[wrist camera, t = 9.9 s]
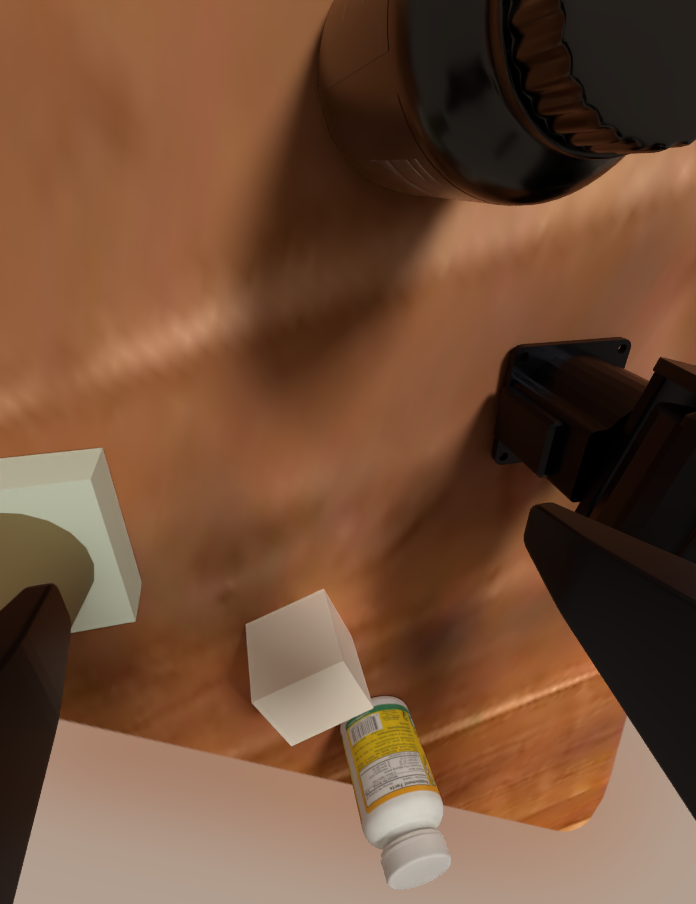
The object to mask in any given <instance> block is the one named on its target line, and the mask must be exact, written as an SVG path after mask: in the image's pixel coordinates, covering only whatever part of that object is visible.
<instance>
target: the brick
mask: <svg viewBox="0 0 696 904" xmlns="http://www.w3.org/2000/svg"><path fill="white" fill-rule="evenodd" d="M245 626H246V639H247V652H248V664H249V677H250V690H251V703H252V704H253V705H254V706H255V707H256V708H257V709H258V710H259V712H260V713H261V714H262V715H263V716H264V717H265V718H266V719H267V720H268V721H269V722H270V723H271V725H272V726H273V727H274V728H275V729H276V730H277V731H278V732H279V733H280V734H281V735H282V737H283V738H284V739H285V740H286V741H287V742H288V743H289V744H290V745H291V746H293V745H295V744H297V743H300V742H302V741H304V740H306V739H308V738H310V737H312V736H315V735H317V734H319V733H321V732H323V731H325V730H328V729H330V728H332V727H334V726H336V725H338V724H341V723H343V722H345V721H347V720H349V719H351V718H353V717H356V716H358V715H360V714H362V713H364V712H366V711H369V710H371V709H373V705H372V701H371V698H370V695H369V691H368V688H367V685H366V682H365V678H364V675H363V672H362V668H361V665H360V662H359V659H358V655H357V652H356V649H355V645H354V642H353V639H352V636H351V634H350V632H349V631H348V629H347V627H346V626H345V624H344V622H343V621H342V619H341V617H340V615H339V614H338V612H337V610H336V609H335V607H334V605H333V604H332V602H331V600H330V598H329V597H328V595H327V593H326V592H325V590H324V589H322V590H320V591H317V592H315V593H313V594H311V595H309V596H306V597H304V598H302V599H300V600H298V601H295V602H293V603H291V604H289V605H287V606H284V607H282V608H280V609H278V610H276V611H274V612H271V613H269V614H267V615H265V616H263V617H260V618H258V619H256V620H254V621H252V622H249V623H247V624H245Z"/></svg>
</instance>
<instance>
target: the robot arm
mask: <svg viewBox="0 0 696 904" xmlns="http://www.w3.org/2000/svg"><path fill="white" fill-rule="evenodd" d="M620 346H621V347H620ZM619 347H620V349H619V350H618V348H619ZM630 349H631V343H630V341H629V340H627V339H625V338H622V337H613V338H599V339H586V340H573V341H560V342H547V343H534V344H521V345H517V346H516V347H515V348H514V349H513V350H512V351H511V354H510V357H509V363H508V368H507V374H506V379H505V384H504V389H503V391H502V393H501V398H500V404H499V409H498V415H497V420H496V426H495V431H494V435H495V438H494V443H493V449H492V459H493V460H494V461H495V462H496V463H497V464H499V465H504V464H511V463H518V462H523V463H524V464H525V465H526V466H527V467H529V468H530V469H531V470H532V471H533V472H534V473H535V474H536V475H537V476H538V477H540V478H543V477H545V478H546V479H547V480H549V481H550V482H551V483H552V484H553V485H554V486H555V487H556V488H557V489H558V490H559V491H561V492H562V493H563V494H564V495H565V496H566V497H567V498H568V499H569V500H570V501H572V502H580V503H579V505H578V507H577V508H576V510H575V512H573V511H571V510H569V509H566V508H564V507H562V506H560V505H557V504H555V503H543V504H536V505H534V506H533V507H532V508H531V509H530V512H529V516H528V520H527V524H526V528H525V532H524V543H525V546H526V549H527V551H528V553H529V554H530V556H531V558H532V560H533V562H534V564H535V566H536V568H537V570H538V572H539V574H540V576H541V578H542V580H543V581H544V583H545V585H546V587H547V589H548V591H549V593H550V595H551V597H552V599H553V601H554V602H555V604H556V606H557V608H558V610H559V611H560V613H561V615H562V616H563V618H564V619H565V621H566V622H567V624H568V626H569V627H570V629H571V630H572V632H573V633H574V635H575V636H576V638H577V639H578V641H579V642H580V644H581V645H582V647H583V649H584V650H585V652H586V653H587V655H588V656H589V658H590V659H591V661H592V662H593V664H594V665H595V667H596V668H597V670H598V672H599V673H600V675H601V676H602V678H603V679H604V681H605V682H606V684H607V685H608V687H609V688H610V690H611V691H612V693H613V695H614V696H615V698H616V699H617V701H618V702H619V704H620V705H621V707H622V708H623V710H624V711H625V713H626V714H627V716H628V718H629V719H630V721H631V722H632V724H633V725H634V727H635V728H636V730H637V731H638V733H639V734H640V736H641V737H642V739H643V740H644V742H645V744H646V745H647V747H648V748H649V750H650V751H651V753H652V754H653V756H654V757H655V759H656V760H657V762H658V763H659V765H660V767H661V768H662V770H663V771H664V773H665V774H666V776H667V777H668V779H669V780H670V782H671V783H672V785H673V787H674V788H675V790H676V791H677V793H678V794H679V796H680V797H681V799H682V800H683V802H684V803H685V805H686V806H687V808H688V809H689V811H690V812H691V814H692V816H693V817H694V819H695V820H696V366H695V365H691V364H687V363H683V362H679V361H675V360H671V359H667V358H663V357H660V358H659V360H658V361H657V363H656V365H655V367H654V368H653V371H655V372H654V374H653V376H652V377H651V379H650V381H648V380H646V379H644V378H642V377H640V376H638V375H636V374H634V373H631V372H629V371H627V370H625V369H624V368H625V364H626V361H627V358H628V355H629V352H630ZM523 352H524V355H523V357H522V358H521V359H519V356H520V355H521V354H522V353H523ZM502 453H504V454H503V455H502V456H501V457H500V455H501V454H502ZM70 634H71V619H70V615H69V612H68V610H67V607H66V605H65V603H64V600H63V598H62V595H61V593H60V591H59V588H58V587H57V586H56V584H54V583H44V584H38V585H32V586H28V587H26V588H24V589H23V590H22V591H21V592H20V593H18V594H17V595H16V596H15V597H14V598H13V599H12V600H11V601H10V602H9V603H7V604H6V605H5V606H4V607H3V608H2V609H1V610H0V904H13V901H14V897H15V893H16V889H17V885H18V881H19V877H20V874H21V870H22V866H23V862H24V858H25V854H26V850H27V845H28V841H29V838H30V834H31V830H32V826H33V822H34V817H35V814H36V810H37V806H38V802H39V798H40V794H41V790H42V785H43V781H44V778H45V774H46V770H47V766H48V762H49V758H50V754H51V750H52V746H53V742H54V738H55V734H56V729H57V725H58V721H59V716H60V709H61V703H62V695H63V687H64V680H65V672H66V664H67V657H68V649H69V641H70Z"/></svg>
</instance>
